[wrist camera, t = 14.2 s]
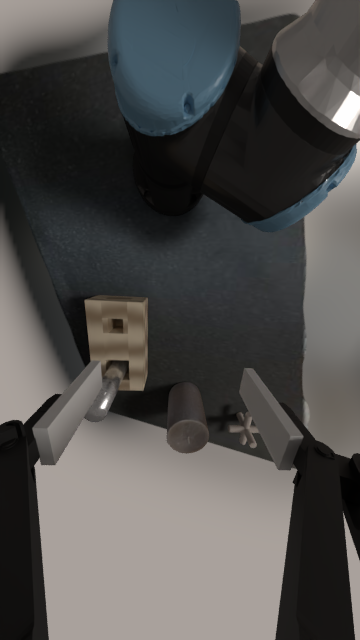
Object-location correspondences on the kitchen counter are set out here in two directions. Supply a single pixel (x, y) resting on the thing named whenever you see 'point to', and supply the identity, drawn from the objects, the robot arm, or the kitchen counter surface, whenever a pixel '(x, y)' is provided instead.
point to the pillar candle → (186, 419)
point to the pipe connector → (245, 429)
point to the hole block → (119, 335)
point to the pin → (107, 390)
